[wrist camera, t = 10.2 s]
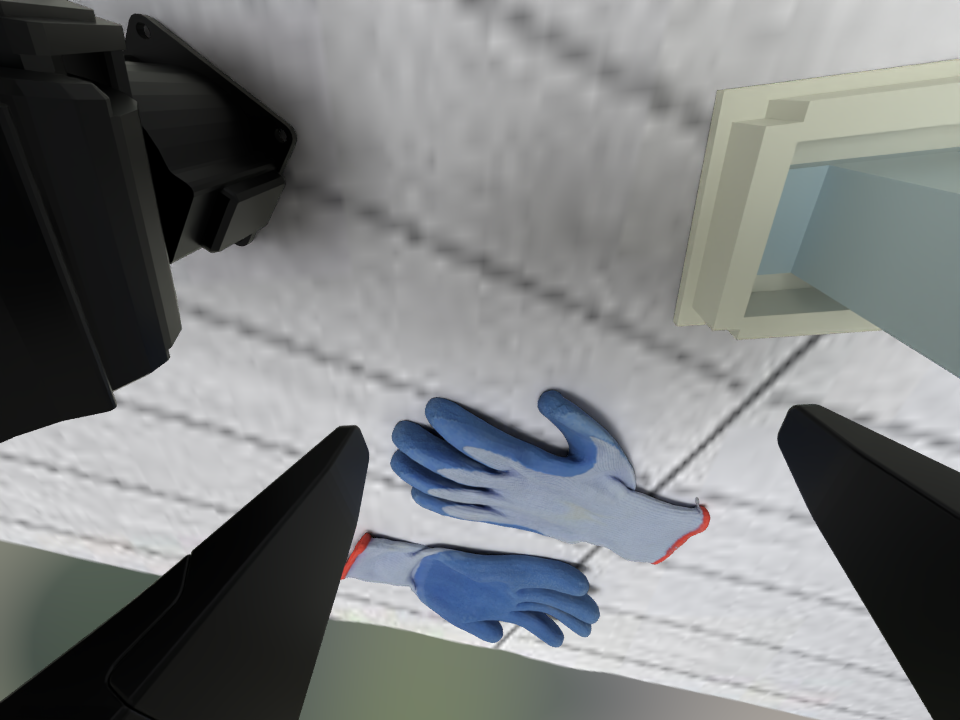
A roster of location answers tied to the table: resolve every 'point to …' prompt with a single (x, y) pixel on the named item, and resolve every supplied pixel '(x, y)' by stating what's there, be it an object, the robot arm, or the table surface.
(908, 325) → the block
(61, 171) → the robot arm
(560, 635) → the pair of gloves
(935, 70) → the pocket tray
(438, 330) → the table surface
